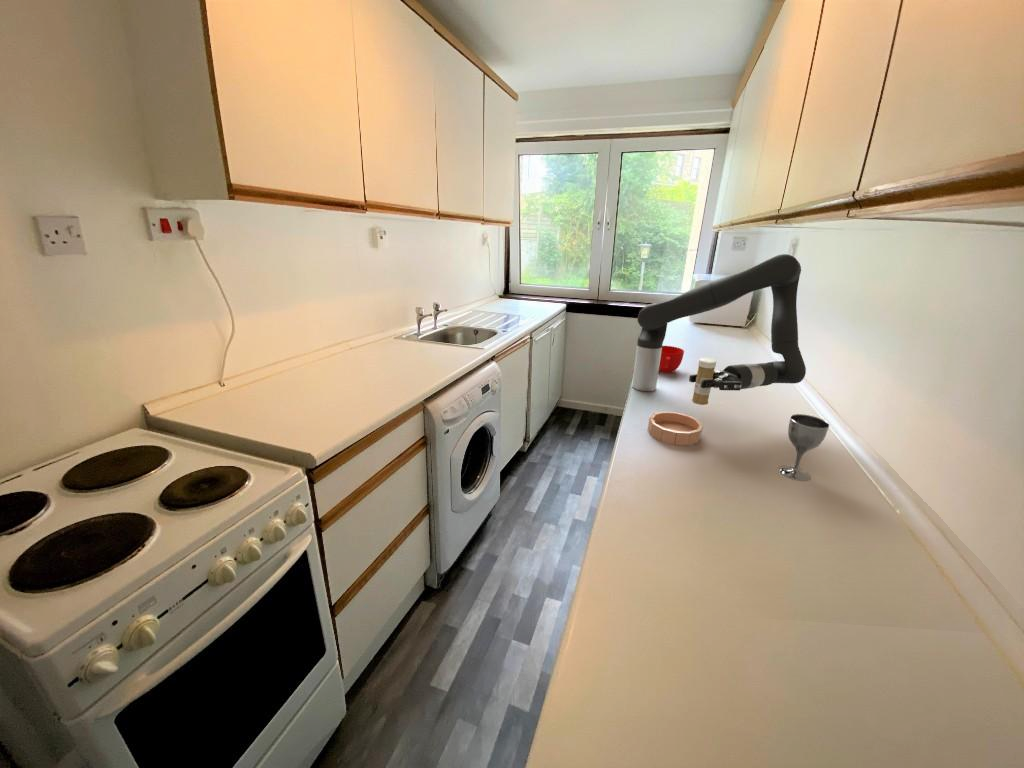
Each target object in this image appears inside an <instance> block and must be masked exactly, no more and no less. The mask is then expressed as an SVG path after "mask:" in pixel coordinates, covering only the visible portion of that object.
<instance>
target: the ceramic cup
mask: <svg viewBox="0 0 1024 768" xmlns="http://www.w3.org/2000/svg"><path fill="white" fill-rule="evenodd" d="M684 353H685V350H684V349H682V348H680V347H678V346H677V347H676V346H671V345H662V351H661V358H660V365H659V372H658V373H662V372H663V373H662V374H672V372H673V373H674V372H675V371H676V370H677V369H678V368H679V367H680V366H681V364H682V362H683V358H684Z"/></svg>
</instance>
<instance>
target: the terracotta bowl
mask: <svg viewBox="0 0 1024 768" xmlns="http://www.w3.org/2000/svg"><path fill="white" fill-rule="evenodd" d="M703 427H704V425H703V423H702V422H701V421H700V420H699V419H697V418H695V417H694V416H691V415H688V414H686V413H682V412H675V411H659V412H655V413H652V414H651V415H650V416H649V418H648V425H647V431H648V433H649V435H650V436H651V437H653V438H654V439H656V440H658V441H659V442H662V443H666V444H668V445H669V444H670V445H674V446H685V445H688V446H692V445H695V444H694V443H696V444H698V443H699V442H700V440H701V439H700V438H702V435H703V429H704V428H703ZM697 442H698V443H697ZM691 444H692V445H691Z"/></svg>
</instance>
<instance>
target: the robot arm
mask: <svg viewBox="0 0 1024 768" xmlns="http://www.w3.org/2000/svg"><path fill="white" fill-rule="evenodd" d="M801 273H802V267H801V264H800V261H798V260H797V258H796V257H794V256H793V255H791V254H787V253H786V254H783V253H782V254H777V255H774V256H772V257H770V258H768V259H766V260H764V261H762V262H760V263H758V264H755V265H753V266H751V267H750V268H747V269H744V270H741V271H739V272H736V273H733V274H729V275H726V276H722V277H720V278H717V279H715V280H711V281H708V282H706V283H703V284H701V285H698V286H696V287H694V288H692V289H688V291H685V292H684V293H681V294H679V295H678V296H676V297H673V298H672V299H669V300H665V301H663V302H654V303H650V304H647V305H646V306H644V307H642V308H641V309H640V310H639V313H638V315H637V323H638V325H639V326H640V327H641V331H640V334H639V336H638V338H637V343H636V351H635V359H634V368H633V377H632V384H631V387H632V388H633V389H635V390H637V391H642V392H653V391H656V390H657V385H658V378H659V373H660V372H659V365H660V358H661V351H662V346H663V344H664V341H665V339H666V335H667V334H666V333H667V330H668V329H667V327H668V324H669V323H671V322H674V321H676V320H678V319H682V318H686V317H690V316H694V315H698V314H699V315H700V314H703V313H707V312H709V311H712V310H716V309H718V308H721V307H723V306H726V305H728V304H731V303H732V302H734V301H736V300H738V299H740V298H741V297H744V296H745V295H748V294H750V293H752V292H757V291H759V290H762V289H765V288H769V287H770V288H771V293H772V302H773V303H772V306H773V307H772V314H771V315H772V316H771V317H772V318H771V325H770V329H771V330H770V333H771V337H770V338H771V343H770V344H771V350H772V352H773V353H775V354H779V355H781V356H782V357H783V358H782V359H783V360H780V361H779V360H778V361H777V360H776V361H769V362H763V363H761V362H760V363H743V364H733V365H732V364H730V365H728V366H726V367H725V368H724V369H723V370H714V373H713V379H711V380H702V382H701V388H710V387H711V388H713V389H718V390H720V391H739V392H740V391H741V390H747V389H754V388H757V387H764V386H766V387H767V386H770V385H773V384H798V383H801V382H802V381H803V380H804V378H805V377H806V373H807V368H806V365H805V361H804V359H803V355H802V352H801V349H800V347H799V326H798V312H797V311H798V310H797V299H798V298H797V296H798V289H799V287H798V286H799V281H800V276H801ZM696 377H697V373H696V374H691V375H689V378H688V379H689V382H690V383H696Z"/></svg>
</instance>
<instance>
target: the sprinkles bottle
mask: <svg viewBox="0 0 1024 768" xmlns="http://www.w3.org/2000/svg"><path fill="white" fill-rule="evenodd" d="M697 365H698V368H697V372H696V374H697V377H696V382H694V383H695V385H694V389H693V395H692V399H691V402H692V403H693V404H694V405H695V404H696V405H700V406H705V405H708V404H709V397H710V394H711V388H712V387H710V388H701V382H702V380H711V379H713V373H714V371H715V369H716V366H717V361H716V360H715V359H713V358H709V357H701V358H699V359H698V364H697Z"/></svg>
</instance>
